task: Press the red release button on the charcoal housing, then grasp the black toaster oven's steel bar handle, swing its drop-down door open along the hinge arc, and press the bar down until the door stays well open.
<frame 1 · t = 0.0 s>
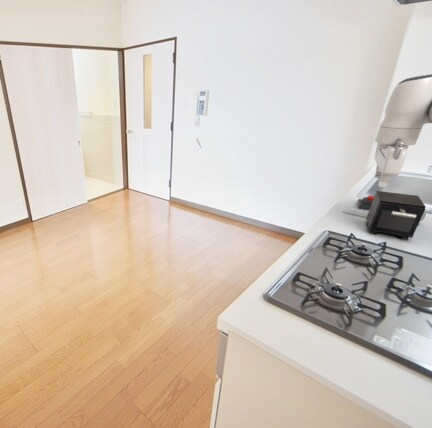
hand: (379, 181, 87), 26 cm above the counter, tool pointing down, fingers open, 8 cm apart
release box: (368, 207, 131), on the counter
release button: (371, 198, 129), point 4 cm above the counter, slide at 0.1 cm
oven door: (397, 222, 101), point 8 cm above the counter, hinge at 0.0°
oven: (385, 230, 111), on the counter
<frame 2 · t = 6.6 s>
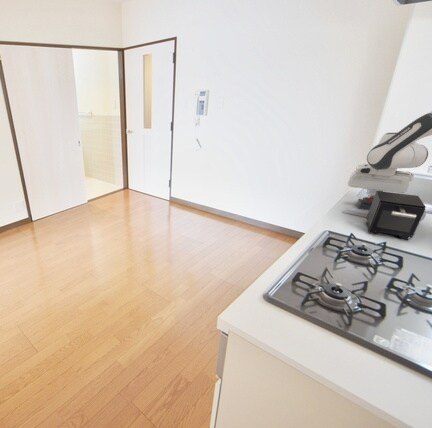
hand: (371, 198, 129), 5 cm above the counter, tool pointing down, fingers closed, pressing on release button
release button: (371, 200, 129), point 4 cm above the counter, slide at -0.8 cm, touching gripper
everything else where it was.
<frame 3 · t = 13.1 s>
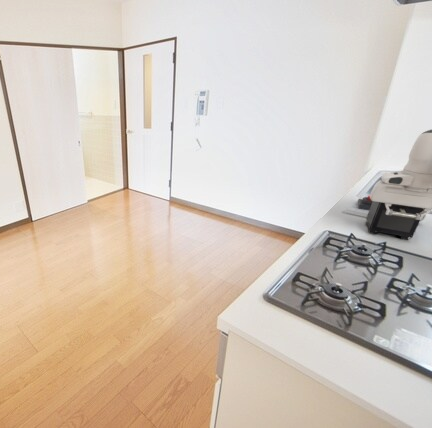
hand: (402, 216, 97), 11 cm above the counter, tool pointing down, fingers closed on oven door, 6 cm apart
release button: (371, 198, 129), point 4 cm above the counter, slide at 0.1 cm
oven door: (397, 222, 101), point 8 cm above the counter, hinge at 0.0°, touching gripper
everything else where it was.
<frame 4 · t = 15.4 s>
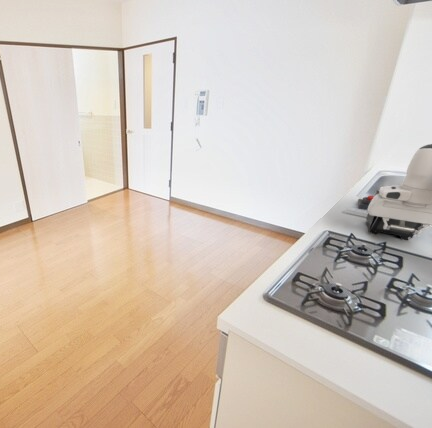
hand: (400, 231, 96), 7 cm above the counter, tool pointing down, fingers closed on oven door, 6 cm apart
oven door: (396, 229, 100), point 6 cm above the counter, hinge at 27.2°, touching gripper
everything else where it was.
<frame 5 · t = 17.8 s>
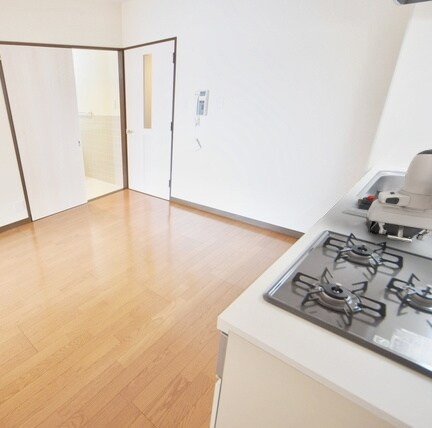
hand: (400, 236, 96), 6 cm above the counter, tool pointing down, fingers open, 8 cm apart
oven door: (395, 234, 100), point 4 cm above the counter, hinge at 45.6°
everything else where it was.
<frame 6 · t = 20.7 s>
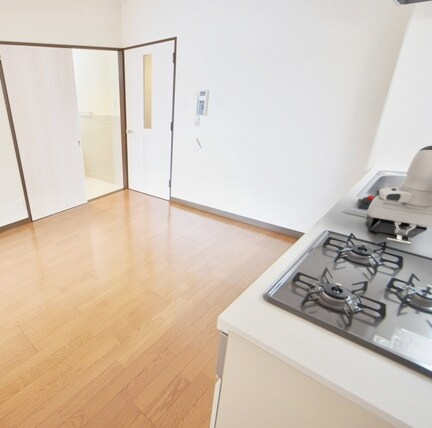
hand: (400, 233, 95), 7 cm above the counter, tool pointing down, fingers closed, pressing on oven door
oven door: (395, 236, 100), point 4 cm above the counter, hinge at 50.4°, touching gripper
everything else where it was.
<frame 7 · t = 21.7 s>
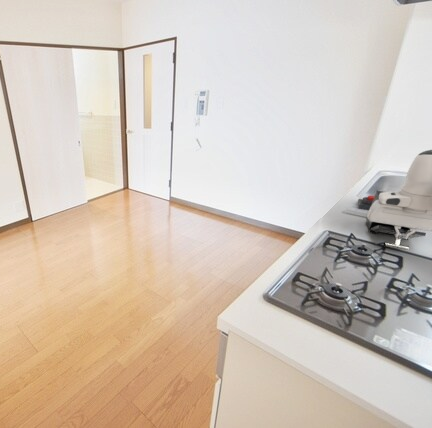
hand: (400, 237, 95), 6 cm above the counter, tool pointing down, fingers closed
oven door: (394, 239, 100), point 3 cm above the counter, hinge at 60.3°
everything else where it was.
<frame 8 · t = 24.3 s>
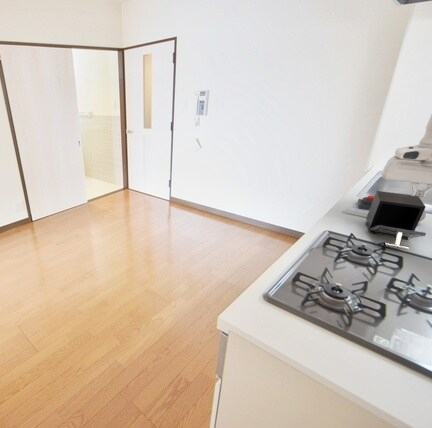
hand: (417, 196, 89), 21 cm above the counter, tool pointing down, fingers closed
nothing on the counter moved.
at the end: release button pushed in 1.0 cm at the most during the clip, back to where it started at the end; release button slide at 0.1 cm; oven door at +60° (first picture: +0°) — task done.
